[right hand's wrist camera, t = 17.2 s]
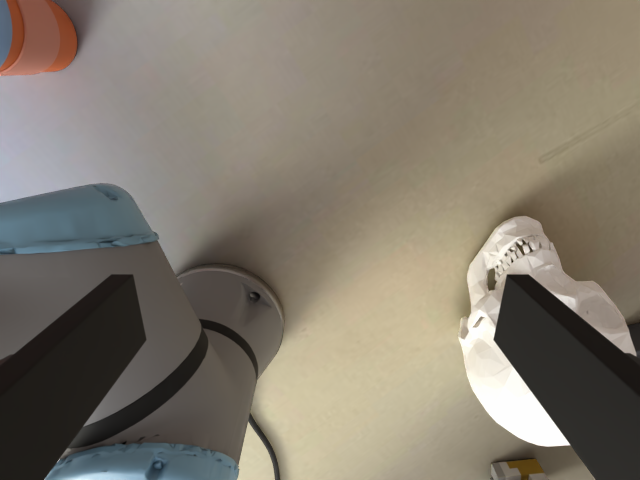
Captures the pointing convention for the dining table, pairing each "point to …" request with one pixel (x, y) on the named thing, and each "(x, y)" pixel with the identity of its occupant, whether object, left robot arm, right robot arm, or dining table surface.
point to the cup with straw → (35, 37)
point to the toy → (517, 470)
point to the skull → (478, 330)
